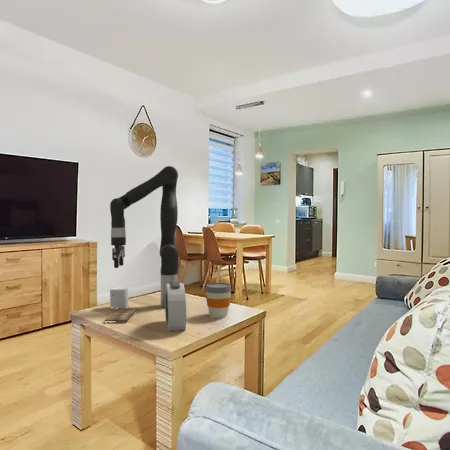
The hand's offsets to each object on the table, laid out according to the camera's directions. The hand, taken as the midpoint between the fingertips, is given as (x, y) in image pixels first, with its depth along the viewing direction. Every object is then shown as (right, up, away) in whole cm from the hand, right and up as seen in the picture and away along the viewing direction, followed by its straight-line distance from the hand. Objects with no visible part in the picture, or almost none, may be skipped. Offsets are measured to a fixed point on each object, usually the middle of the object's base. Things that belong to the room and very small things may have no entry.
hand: (118, 266), depth 189 cm
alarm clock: (+34, -23, -30) cm, 51 cm away
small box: (0, -22, +1) cm, 22 cm away
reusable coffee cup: (+53, -23, -14) cm, 59 cm away
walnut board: (+6, -23, -16) cm, 28 cm away
